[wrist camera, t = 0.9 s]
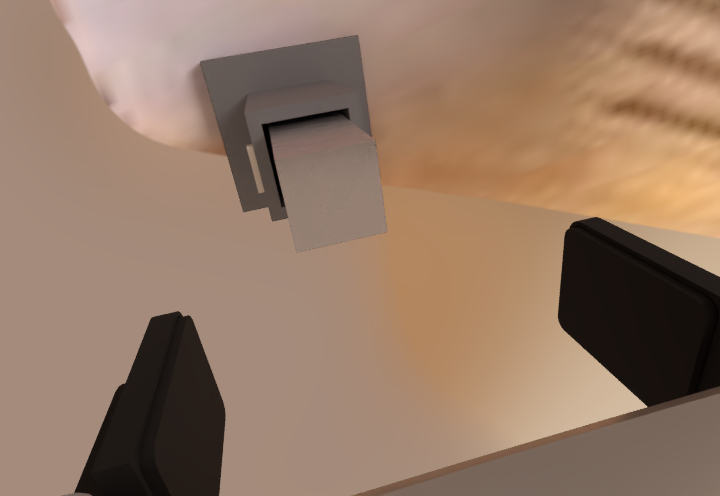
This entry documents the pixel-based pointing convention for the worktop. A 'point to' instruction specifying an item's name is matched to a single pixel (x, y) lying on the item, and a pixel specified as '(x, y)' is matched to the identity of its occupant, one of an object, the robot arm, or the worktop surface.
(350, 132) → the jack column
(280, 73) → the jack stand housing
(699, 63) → the worktop surface
